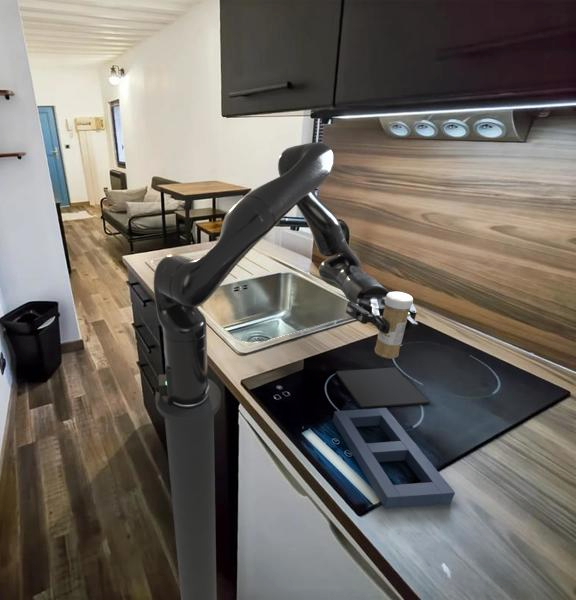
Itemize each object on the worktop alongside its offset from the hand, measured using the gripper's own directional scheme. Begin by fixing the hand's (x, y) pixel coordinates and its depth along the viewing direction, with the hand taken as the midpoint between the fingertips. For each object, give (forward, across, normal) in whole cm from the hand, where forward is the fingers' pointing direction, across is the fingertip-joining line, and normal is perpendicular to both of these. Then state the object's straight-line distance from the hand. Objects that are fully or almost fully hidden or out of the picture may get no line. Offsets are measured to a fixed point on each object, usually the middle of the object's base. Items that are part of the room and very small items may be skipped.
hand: (400, 329), depth 71 cm
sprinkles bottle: (-3, 0, +8) cm, 8 cm away
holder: (+16, -8, +16) cm, 24 cm away
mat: (-2, 0, +16) cm, 16 cm away
